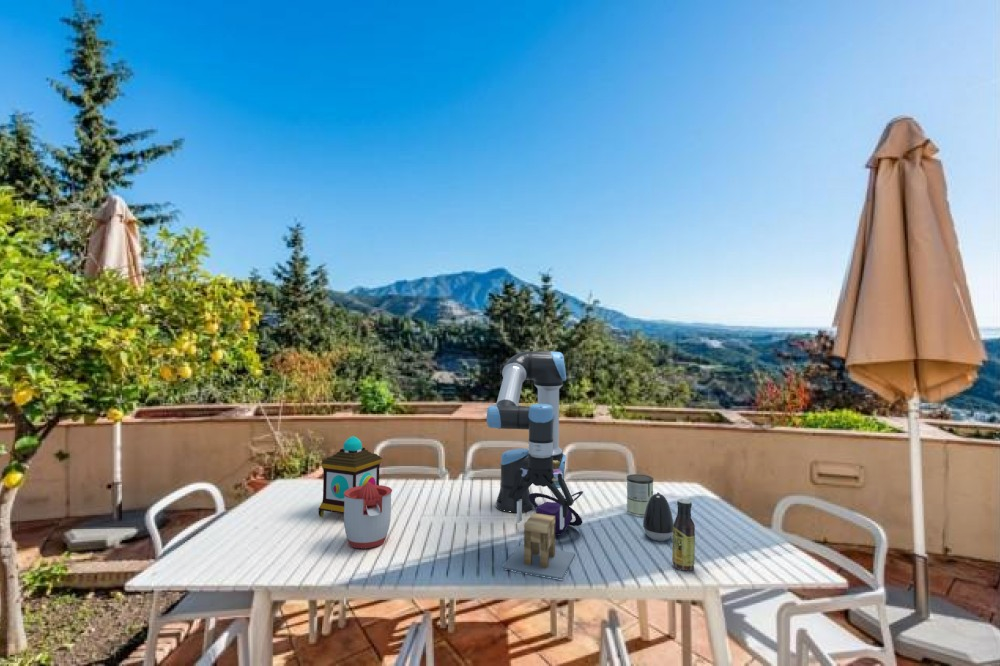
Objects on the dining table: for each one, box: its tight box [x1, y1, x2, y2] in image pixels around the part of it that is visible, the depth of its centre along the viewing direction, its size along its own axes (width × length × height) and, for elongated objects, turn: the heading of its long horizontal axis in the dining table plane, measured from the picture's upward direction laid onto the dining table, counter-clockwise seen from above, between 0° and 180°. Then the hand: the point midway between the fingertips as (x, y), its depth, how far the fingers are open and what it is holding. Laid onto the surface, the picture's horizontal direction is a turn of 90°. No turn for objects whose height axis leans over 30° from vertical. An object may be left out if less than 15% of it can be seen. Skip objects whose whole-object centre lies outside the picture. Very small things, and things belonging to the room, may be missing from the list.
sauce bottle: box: [671, 498, 696, 571], centre depth 142 cm, size 6×6×20 cm
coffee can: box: [626, 473, 654, 518], centre depth 191 cm, size 10×10×14 cm
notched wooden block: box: [523, 512, 556, 568], centre depth 144 cm, size 10×7×12 cm
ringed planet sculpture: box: [529, 460, 584, 535], centre depth 170 cm, size 22×21×25 cm
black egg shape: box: [642, 491, 674, 542], centre depth 164 cm, size 10×10×15 cm
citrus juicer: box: [343, 482, 393, 549], centre depth 157 cm, size 16×17×20 cm
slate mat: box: [501, 543, 576, 580], centre depth 144 cm, size 18×18×1 cm
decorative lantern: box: [318, 436, 383, 518], centre depth 186 cm, size 20×20×30 cm
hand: (540, 524), depth 145 cm, fingers open, 13 cm apart
